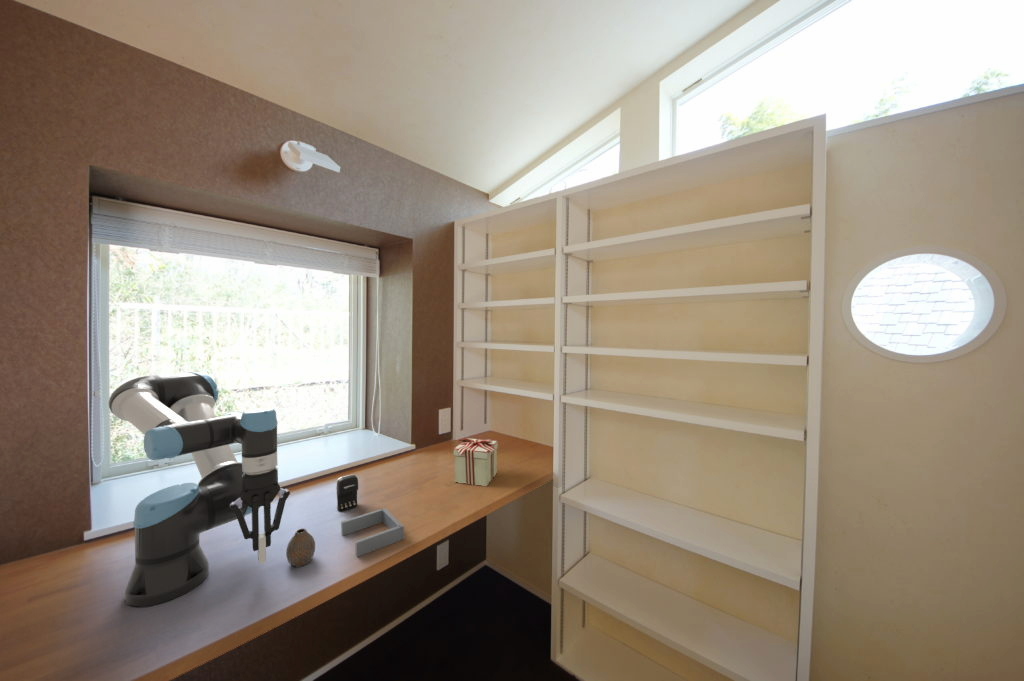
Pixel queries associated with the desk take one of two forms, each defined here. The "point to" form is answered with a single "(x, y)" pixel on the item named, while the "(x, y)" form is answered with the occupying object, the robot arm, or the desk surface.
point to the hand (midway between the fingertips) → (262, 560)
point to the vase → (300, 548)
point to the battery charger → (346, 492)
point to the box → (375, 540)
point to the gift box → (475, 461)
